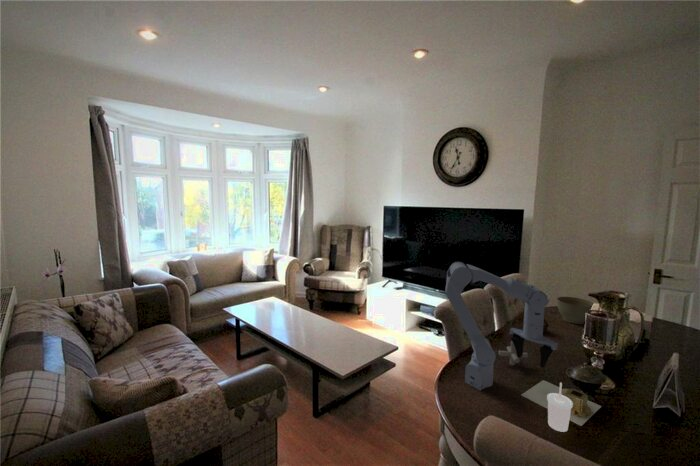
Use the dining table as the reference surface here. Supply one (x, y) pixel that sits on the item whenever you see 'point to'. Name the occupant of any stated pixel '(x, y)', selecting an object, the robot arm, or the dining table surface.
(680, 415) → the dining table surface
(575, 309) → the planter bowl
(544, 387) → the plate
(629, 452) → the dining table surface
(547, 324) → the dragon fruit
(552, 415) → the beverage cup
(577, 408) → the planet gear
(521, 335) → the robot arm
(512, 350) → the pipe connector
